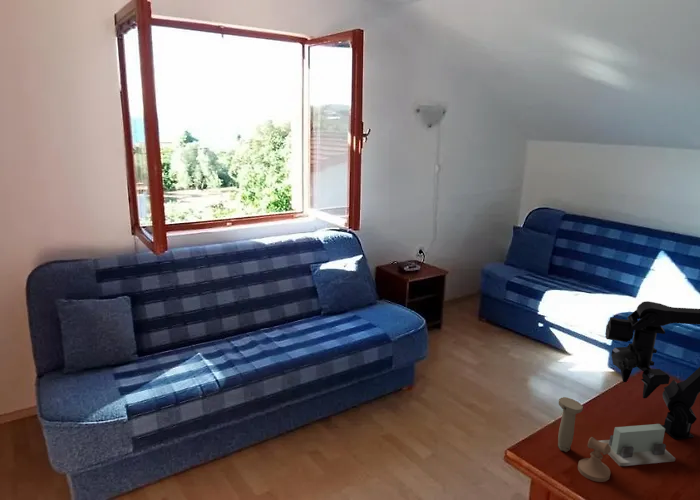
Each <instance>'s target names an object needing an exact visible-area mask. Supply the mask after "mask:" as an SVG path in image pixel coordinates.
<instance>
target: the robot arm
mask: <svg viewBox="0 0 700 500" xmlns="http://www.w3.org/2000/svg"><path fill="white" fill-rule="evenodd" d="M626 318H627V319H624V318H617V317H613V316H611V317H609V320H608V322H607V324H606V326H605V338H606V340H609V341H618V342H622V343H623V342H624V343H628V342H631V340H632V343H628V345H627V346H620V347H619V346H618V347H617V346H616V347H614V348H613V349H611V355H610V356H611V360H612V365H614V366H615V367H616V368H618V370H620V373H621V379H622V382H623V383H627V382H628V380H629V379H630V376H631V374H632V371H633V369H635V368H638V369H639V370H640V371H642V373H641V377H642V378H641V379H640V380H641V381H642V382H643V389H642V390H643V391H642V398H643V399H647V398H649V397H650V395H651V394H652V393H653V392H654V391H655V390H656V389H657V388H659V386H661V385H666V386H665V387H663V392H662V399H663V401H664V403H665V405H666V408H667V409H668V412H667V414H666V417H665V418H664V423H663V424H660V425H661V426H662V427H664V428H665V432H666V433H667V434H668V435H669V436H670V437H671V438H673V439H675V440H683V439H694V437H695V436H694V434H692V433H691V430H692V425H694V424H695V423H696V421H697V419H698V418H697V416H696V415H695V412H694V410H693V409H692V407H693V406H694V405H695V403H696V400H697V398H698V395H699V393H700V366H699V367H698V368H697V369H696V370H694V371H693V372H692V373H691V375H689V376H687V378H685V380H683V381H680V382H677V381H676V380H675V379H673V380H672V381H670V378H671V376H670V375H669V374H668V373H666V372H665V371H663V370H662V369H661V368H654V369H653V368H651V366H654V365H655V361H653V360H652V359H653V354H657V353H658V350H657V349H656V348H655V345H656V339H657V334H662V335H665V334H666V331H665V329H664V328H663V327H662V326H667V325H670V324H681V325H683V324H684V325H700V308H688V307H672V306H669V305H666V304H662V303H658V302H653V301H650V300H649V301H647V300H646V301H642V302H641V303H640V304H638V306H637V307H636V309H635V310H634V311H633V312H632V313H630V314H629V315H628V316H627V317H626Z"/></svg>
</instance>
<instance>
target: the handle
mask: <svg viewBox="0 0 700 500" xmlns="http://www.w3.org/2000/svg"><path fill="white" fill-rule="evenodd" d="M558 406H560V408H561V409H562V413H561V419H560V420H561V421H560V424H559V429H558V437H557V447H558V449H559V451H562V452H565V453H567V452H568V451H570V450H571V446H572V443H573V440H574V435H575V426H576V425H575V424H576V415H577V414H581V413H582V412H583V408H584V406H583V404H581V403H580V402H579V401H577V400H575V399H573V398H569V397H565V396H563V397H561V398H559V399H558Z"/></svg>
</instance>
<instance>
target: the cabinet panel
mask: <svg viewBox="0 0 700 500" xmlns="http://www.w3.org/2000/svg"><path fill="white" fill-rule="evenodd" d="M612 440H613V435H612V434H611V435H610V436H609V439H602V440H599V441H600V442H603V443H608V444H609V446H610V448H611V445H612ZM666 448H667V445H666V444H665V443H662V444H654V449H653V451H645V452H634V453H633V450H634V448H633V447H632V446H629V447H622V451H621V454H616V453H615V452H614V451H613V450H612V449H611V450H610V453H608V454H607V455H608V456H610V458H611V459H612V460H613V461H614V462H615V463H616V464H617V465H618V466H619V467H628V466H638V465H649V464H650V465H651V464H658V463H659V464H661V463H670V462H671V463H672V462H675V461H676V457H675V456H673V455H672V454H671V453H670V452H669V451H668V450H667V449H666Z"/></svg>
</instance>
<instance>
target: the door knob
mask: <svg viewBox="0 0 700 500" xmlns="http://www.w3.org/2000/svg"><path fill="white" fill-rule="evenodd" d="M587 448H588V449H593V450H592V451H591V452H590V453H589V455H590V458H589V457H586V458H581V459H580V460H578V464H577V470H578V472H579V473H580V475H581V476H582V477H584V478H586V479H588V480H590V481H593V482H597V483H602V482H603V483H605V482H607V481H608V480H610V478H611V477H610V476H611V474H612V473H611V469H610V468H609V467H608V465H607V464H606V463H604V462H602V460H603V458H604V455H605V456H606V455H608V453H610V450H611V448H610V446H609V444H608V443H603V442H600V440H598V439H596V438H595V437H593V436H591V437H589V439H588V441H587Z"/></svg>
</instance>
